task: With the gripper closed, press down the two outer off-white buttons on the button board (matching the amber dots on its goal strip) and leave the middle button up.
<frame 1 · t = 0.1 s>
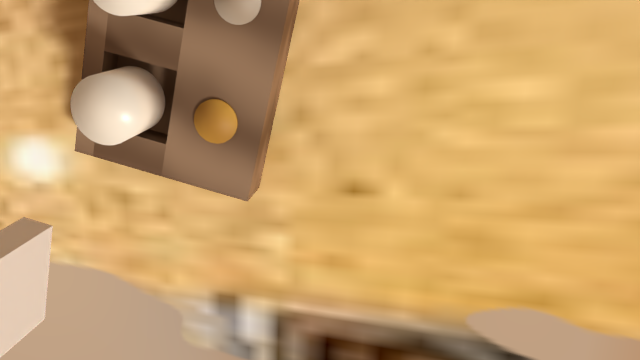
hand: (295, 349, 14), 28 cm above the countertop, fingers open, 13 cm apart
button C: (119, 104, 38), point 5 cm above the countertop, slide at 0.0 cm
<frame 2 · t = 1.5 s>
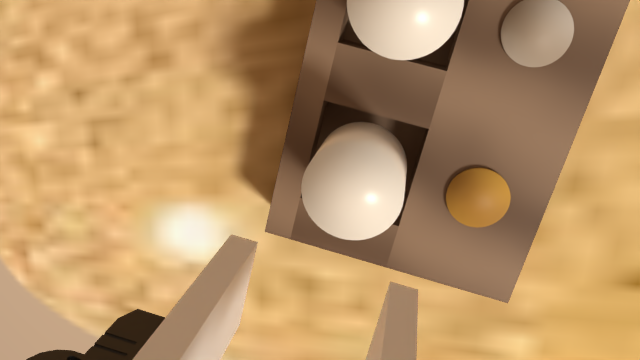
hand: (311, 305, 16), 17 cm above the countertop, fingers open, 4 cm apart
button C: (357, 178, 27), point 5 cm above the countertop, slide at 0.0 cm
button B: (406, 0, 24), point 5 cm above the countertop, slide at 0.0 cm
board: (458, 10, 29), on the countertop
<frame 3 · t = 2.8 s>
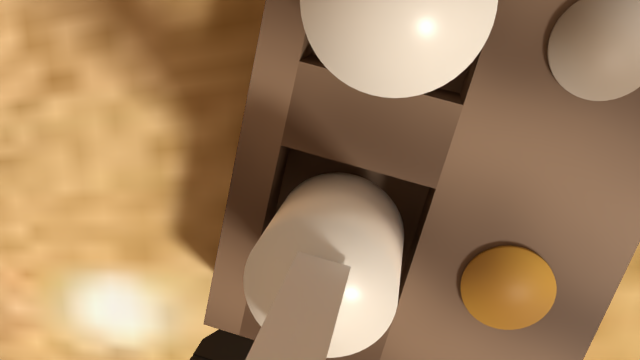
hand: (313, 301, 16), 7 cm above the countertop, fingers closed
button C: (330, 259, 18), point 5 cm above the countertop, slide at 0.6 cm, touching gripper
board: (479, 12, 20), on the countertop
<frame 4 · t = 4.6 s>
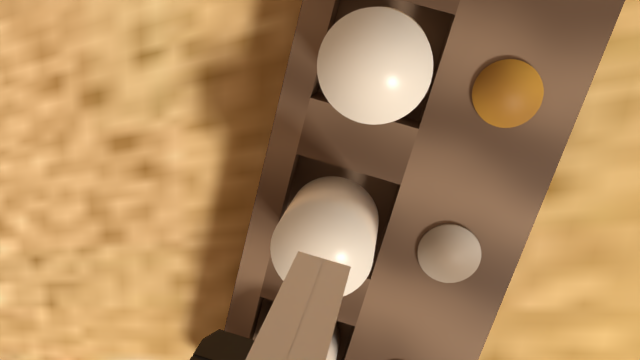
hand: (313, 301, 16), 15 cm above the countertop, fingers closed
button C: (294, 355, 31), point 3 cm above the countertop, slide at 1.9 cm
button B: (327, 234, 27), point 5 cm above the countertop, slide at 0.0 cm
board: (385, 212, 31), on the countertop
button A: (377, 62, 24), point 5 cm above the countertop, slide at 0.0 cm
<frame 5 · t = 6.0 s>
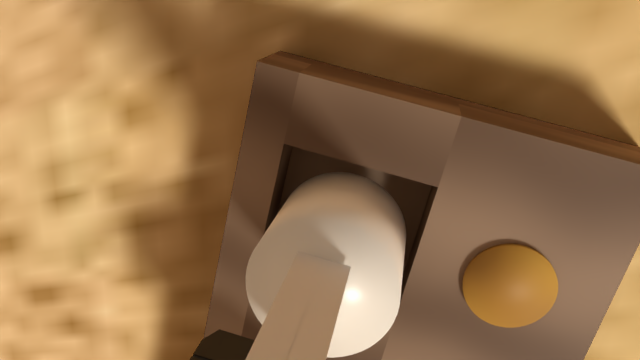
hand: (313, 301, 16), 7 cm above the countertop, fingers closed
button A: (332, 258, 18), point 5 cm above the countertop, slide at 0.4 cm, touching gripper
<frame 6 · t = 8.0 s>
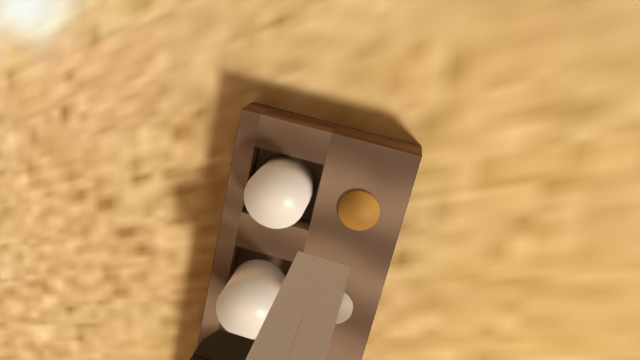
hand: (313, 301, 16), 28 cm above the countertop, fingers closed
button B: (253, 298, 43), point 5 cm above the countertop, slide at 0.0 cm
board: (299, 275, 48), on the countertop
button A: (281, 190, 42), point 3 cm above the countertop, slide at 2.0 cm
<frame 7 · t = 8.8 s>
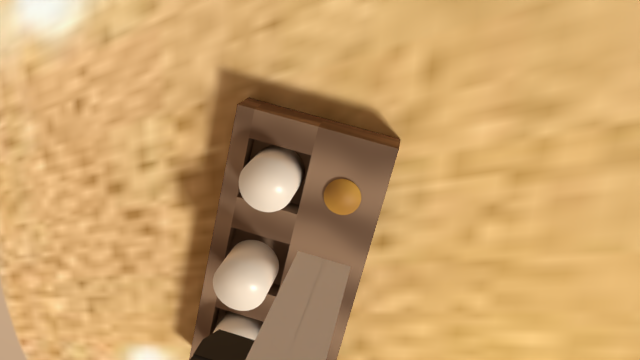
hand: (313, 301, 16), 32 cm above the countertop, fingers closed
button C: (236, 341, 52), point 3 cm above the countertop, slide at 1.9 cm
button B: (247, 274, 48), point 5 cm above the countertop, slide at 0.0 cm
board: (290, 255, 52), on the countertop
button A: (272, 177, 47), point 3 cm above the countertop, slide at 2.0 cm
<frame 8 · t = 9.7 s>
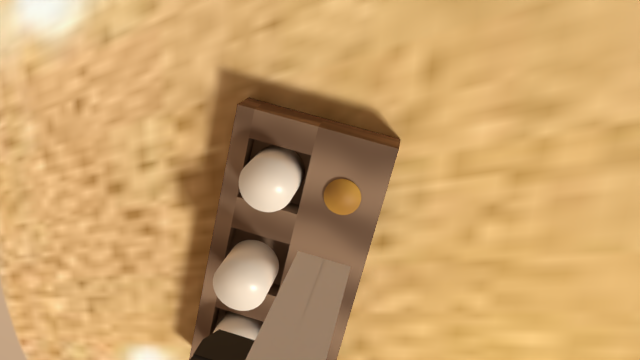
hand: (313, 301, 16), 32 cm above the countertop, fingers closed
button C: (236, 341, 52), point 3 cm above the countertop, slide at 1.9 cm
button B: (246, 274, 48), point 5 cm above the countertop, slide at 0.0 cm
board: (290, 255, 52), on the countertop
button A: (272, 177, 47), point 3 cm above the countertop, slide at 2.0 cm
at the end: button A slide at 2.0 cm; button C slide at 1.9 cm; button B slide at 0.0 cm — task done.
